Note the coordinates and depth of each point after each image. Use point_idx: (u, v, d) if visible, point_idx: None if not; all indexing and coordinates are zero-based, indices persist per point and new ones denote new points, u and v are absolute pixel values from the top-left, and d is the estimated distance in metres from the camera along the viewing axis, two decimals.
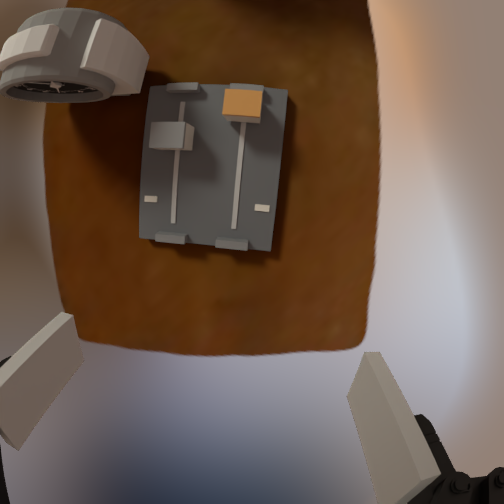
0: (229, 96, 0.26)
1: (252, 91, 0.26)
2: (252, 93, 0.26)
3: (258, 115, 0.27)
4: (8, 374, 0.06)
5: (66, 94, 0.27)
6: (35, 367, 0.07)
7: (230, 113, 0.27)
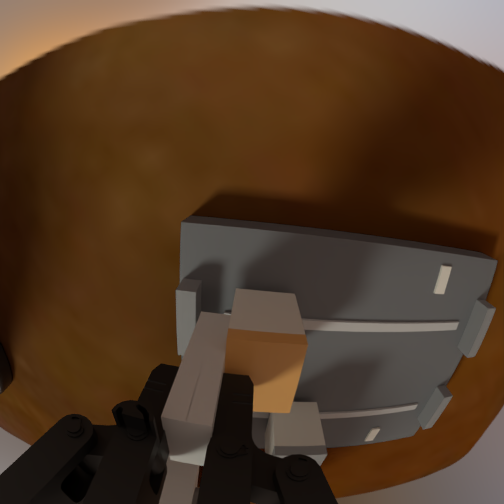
0: None
1: (228, 360, 0.10)
2: (235, 360, 0.10)
3: (303, 347, 0.10)
4: (193, 382, 0.08)
5: None
6: None
7: (290, 401, 0.11)
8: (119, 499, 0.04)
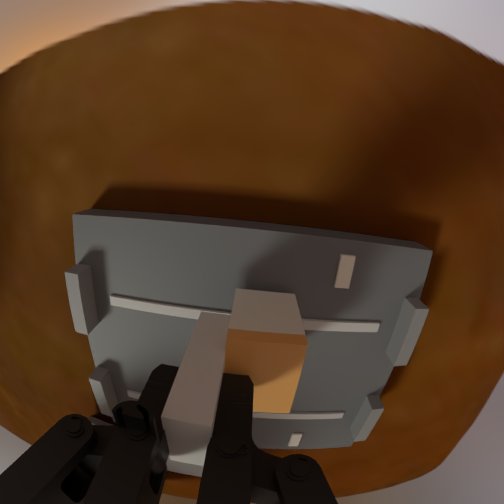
0: None
1: (228, 361, 0.10)
2: (235, 361, 0.10)
3: (303, 348, 0.10)
4: (193, 382, 0.08)
5: None
6: None
7: (290, 401, 0.11)
8: (119, 499, 0.04)
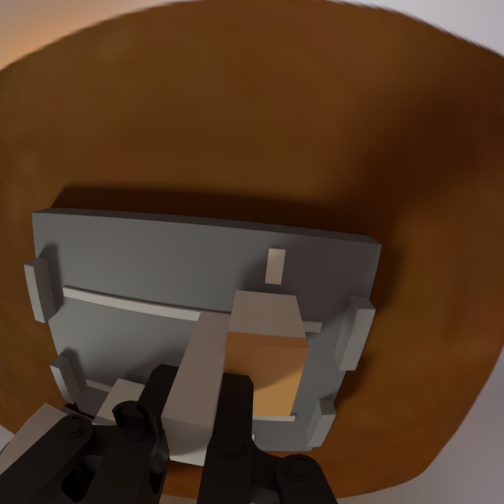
0: None
1: (228, 364, 0.10)
2: (234, 364, 0.10)
3: (304, 351, 0.10)
4: (192, 382, 0.08)
5: None
6: None
7: (290, 404, 0.11)
8: (119, 499, 0.04)
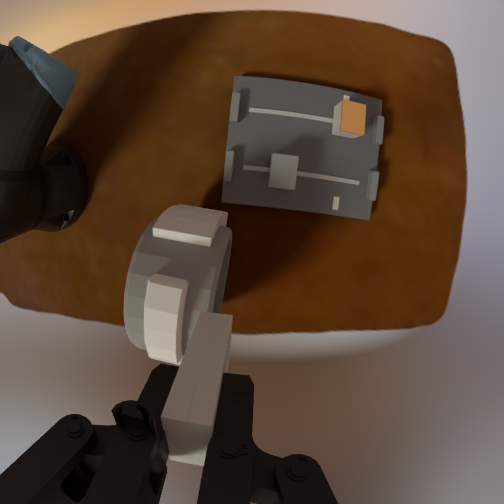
0: (348, 127, 0.29)
1: (343, 107, 0.29)
2: (345, 107, 0.29)
3: (365, 105, 0.28)
4: (192, 382, 0.08)
5: None
6: None
7: (363, 128, 0.29)
8: (119, 499, 0.04)
